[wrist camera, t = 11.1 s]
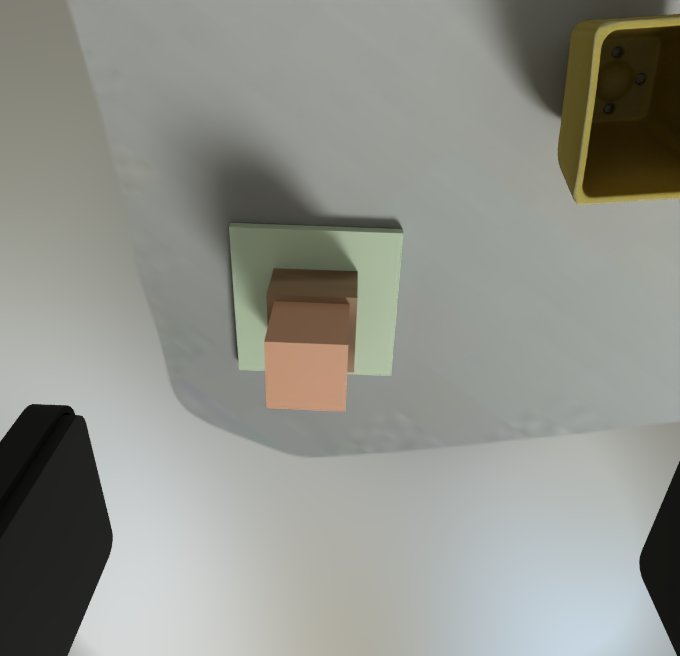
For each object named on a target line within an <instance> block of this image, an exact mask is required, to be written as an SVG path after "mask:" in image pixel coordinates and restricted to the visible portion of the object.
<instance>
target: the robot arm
mask: <svg viewBox="0 0 680 656" xmlns="http://www.w3.org/2000/svg"><path fill="white" fill-rule="evenodd" d="M112 538H113V534H112V529H111V525H110V520H109V516H108V513H107V508H106V504H105V500H104V496H103V492H102V487H101V483H100V479H99V475H98V471H97V467H96V462H95V458H94V454H93V450H92V446H91V442H90V438H89V434H88V429H87V425H86V422H85V419H84V418H83V416H79V415H75V413H74V410H73V409H72V408H71V407H70V406H66V405H41V404H32V405H29V406H28V407H27V408H26V409H25V410H24V411H23V412H22V413H21V415H20V416H19V417H18V419H17V420H16V422H15V423H14V424H13V425H12V427H11V428H10V430H9V431H8V432H7V434H6V435H5V436H4V438H3V439H2V440H1V442H0V656H67V655H68V653H69V651H70V648H71V646H72V644H73V641H74V639H75V636H76V634H77V631H78V629H79V627H80V625H81V622H82V620H83V617H84V615H85V612H86V610H87V608H88V605H89V603H90V601H91V598H92V596H93V593H94V591H95V589H96V586H97V584H98V582H99V579H100V577H101V574H102V572H103V570H104V567H105V565H106V562H107V560H108V558H109V555H110V552H111V548H112V541H113V539H112ZM639 564H640V572H641V576H642V579H643V581H644V583H645V586H646V588H647V590H648V592H649V594H650V597H651V599H652V601H653V603H654V605H655V608H656V610H657V612H658V614H659V617H660V619H661V621H662V623H663V625H664V628H665V630H666V632H667V634H668V636H669V639H670V641H671V643H672V645H673V647H674V650H675V652H676V654H677V656H680V462H679V464H678V466H677V469H676V471H675V474H674V476H673V478H672V481H671V483H670V485H669V488H668V490H667V493H666V495H665V497H664V500H663V502H662V504H661V507H660V509H659V512H658V514H657V516H656V519H655V521H654V524H653V526H652V528H651V531H650V533H649V535H648V538H647V540H646V542H645V545H644V547H643V550H642V552H641V555H640V562H639Z"/></svg>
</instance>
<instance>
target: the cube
mask: <svg viewBox="0 0 680 656" xmlns="http://www.w3.org/2000/svg"><path fill="white" fill-rule="evenodd" d="M349 311H350V304H333V303H308V302H283V301H274V304H273V308H272V312H271V316H270V320H269V324H268V328H267V332H266V336H265V340H264V353H265V378H266V403H267V408H276V409H300V410H323V411H345V410H346V388H347V365H348V341H349Z"/></svg>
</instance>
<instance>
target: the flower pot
mask: <svg viewBox="0 0 680 656" xmlns="http://www.w3.org/2000/svg"><path fill="white" fill-rule="evenodd" d="M617 47H619V48H621V49H622V53H621V55H620V56H619V57H613V55H612V52H613V50H614V49H615V48H617ZM639 74H643V75H644V77H645V79H644V81H643V82H642V83H640V84H637V83H636V81H635V79H636V77H637V76H638V75H639ZM607 104H612V105H613V109H612V111H611V112H609V113H606V112H605V111H604V107H605V106H606V105H607ZM558 161H559V165H560V168H561V171H562V173H563V176H564V178H565V180H566V183H567V185H568V188H569V190H570V192H571V194H572V196H573V199H574V201H575V202H576V204H579V205H589V204H603V203H617V202H630V201H647V200H662V199H679V198H680V14H673V15H659V16H646V17H631V18H616V19H601V20H586V21H583V22H580V23H578V24H577V25H576V26H575V27H574V28H573V30H572V33H571V37H570V47H569V58H568V67H567V76H566V85H565V94H564V102H563V110H562V119H561V127H560V135H559V143H558Z"/></svg>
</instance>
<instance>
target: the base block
mask: <svg viewBox="0 0 680 656" xmlns="http://www.w3.org/2000/svg"><path fill="white" fill-rule="evenodd" d="M266 298H267V323H268V324H269V320H270V316H271V312H272V308H273V304H274V301H283V302H308V303H333V304H350V311H349V341H348V365H347V372H350V373H354V362H355V340H356V319H357V298H358V271H336V270H310V269H283V268H274V269H273V273H272V276H271V280H270V283H269V287H268V290H267V294H266Z"/></svg>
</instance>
